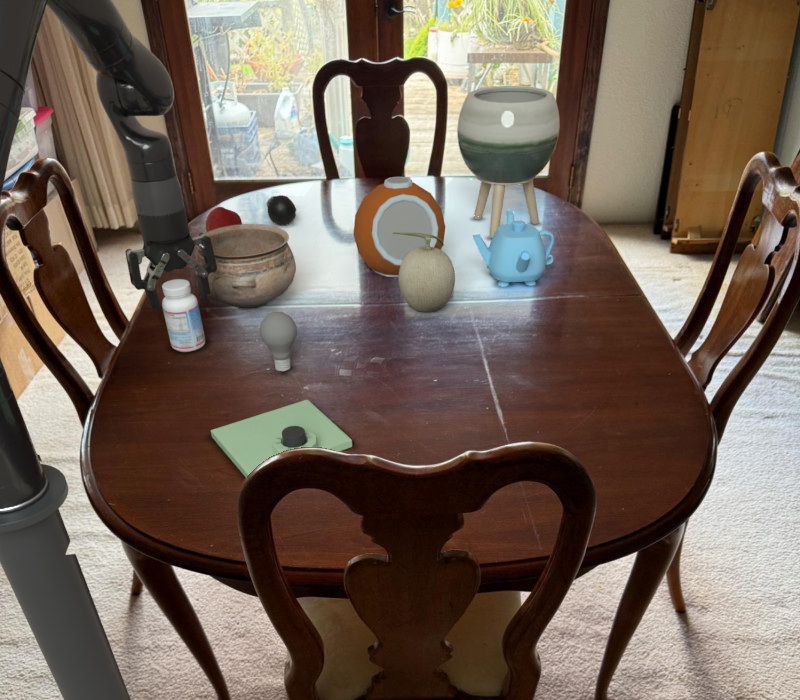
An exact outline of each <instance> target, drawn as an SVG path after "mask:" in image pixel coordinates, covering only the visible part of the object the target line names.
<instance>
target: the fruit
mask: <svg viewBox="0 0 800 700" xmlns="http://www.w3.org/2000/svg"><path fill="white" fill-rule="evenodd" d="M393 234H401V235H409V236H417V237H421V238H424V239H425V240H426V246H421V247H417V248H415V249H413V250H411V251H410V252H409V253H408V254H407V255H406V256H405V257H404V259H403V261H402V263H401V266H400V270H399V277H398V287H399V290H400V293H401V296H402V298H403V299H404V301H405V302H406V303H407V305H409V306H410V308H412V309H414V310H416V311H418V312H425V313H426V312H434V311H437V310H440V309H441V308H443V307H444V306H446V305H447V304H448V302H449V301H450V300H451V298H452V297H453V293H454V290H455V285H456V284H455V283H456V273H455V268H454V264H453V262H452V260H451V258H450V256H449V255H448V254H447V253H446V252H444V251H443V250H442V249H441V250H440V249H438V248H434V247H430V241H431V239H430V238H435V239H437V240H439V241H440V243H441V244H442V246H443V247H444V246H445V244H444V242H442V240H441V239H440V238H438V237H436V236H434V235H428V234H421V233H398V232H393Z"/></svg>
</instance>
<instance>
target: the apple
mask: <svg viewBox="0 0 800 700" xmlns="http://www.w3.org/2000/svg"><path fill="white" fill-rule="evenodd" d="M239 224H243V222H242V218H241V216H240V215H239V214H238V212H236V211H233V210H231V209H227V208H225V207H223V206H217V207H215V208H214V209H212V210H211V211H210V212H209V213H208V215H207V216H206V220H205V233H206V232H208V231H211V230H213V229H217V228H221V227H225V226H231V225H239Z"/></svg>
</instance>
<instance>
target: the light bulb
mask: <svg viewBox="0 0 800 700" xmlns="http://www.w3.org/2000/svg"><path fill="white" fill-rule="evenodd" d="M259 334H260V338H261V340H262V342H263V343H264V345H266V347H267V348H268V349H269V351H270V354H271V356H272V357H273V360H274V361H273V362H274V367H275V370H276V371H279V372H286V371H289V370H290V369H292V368H291V367H292V366H291V358H290V357H291V355H292V348H293V345H294V343H295V341H296V339H297V336H298V327H297V324H296V322H295V320H294V319H293V318H292V317H291V316H290V315H289V314H287V313H285V312H283V311H272V312H270V313H267V315H265V317H264V318H263V319H262V321H261V323H260V326H259Z"/></svg>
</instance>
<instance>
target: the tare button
mask: <svg viewBox="0 0 800 700" xmlns="http://www.w3.org/2000/svg"><path fill="white" fill-rule="evenodd" d="M282 438H283V444H284V446H286V447H289V448H295V447H300V446H303V445H304V444H305V443H306V436H305V430H304V428H302V427H300V426H290V427H287V428H285V429H284V430H283V431H282Z"/></svg>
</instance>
